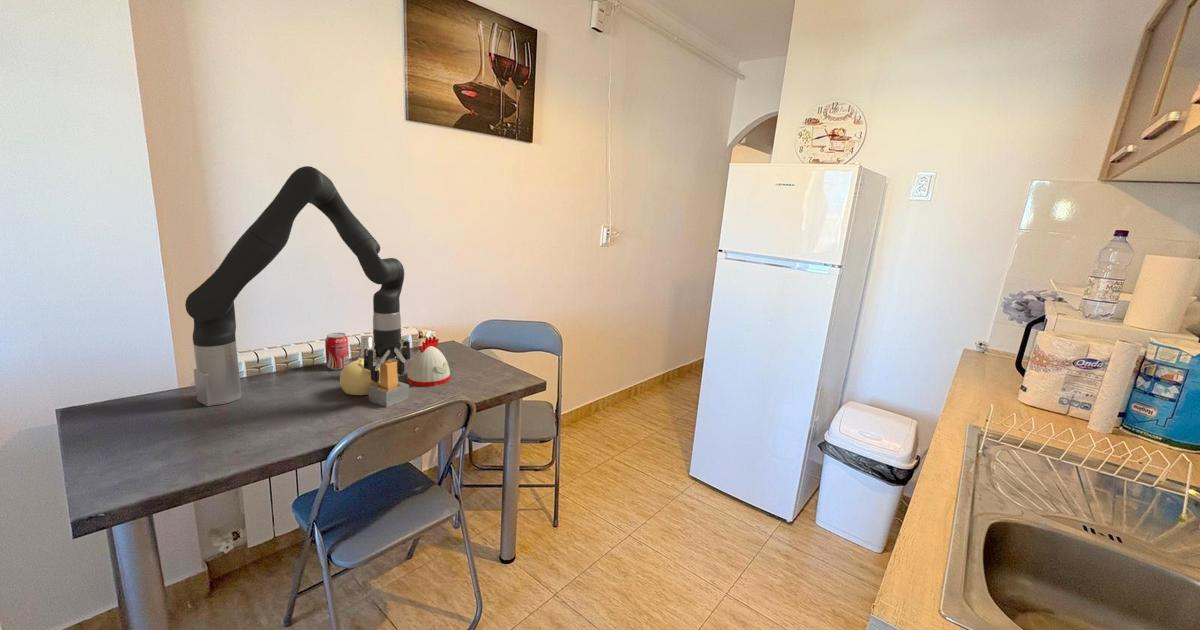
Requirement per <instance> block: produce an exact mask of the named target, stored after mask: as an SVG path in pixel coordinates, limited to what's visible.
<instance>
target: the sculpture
mask: <svg viewBox="0 0 1200 630" xmlns="http://www.w3.org/2000/svg"><path fill="white" fill-rule="evenodd" d="M376 364H377V363H376ZM378 370H379V382H373V381H372V380H371V370H368V369H365V368H364V359H361V358H359V357H358V358H357V360H354V361H351V362H349V364H347V365H346V366H345V367H344V368H343V369H341V371H340V376H339V384H340V387H341V390H342V391H343V392H344V393H345V394H347V395H350V396H367V395H368V396H369V386H371V385H374V384H377V383H380V367H379V369H378Z"/></svg>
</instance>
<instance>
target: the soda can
mask: <svg viewBox="0 0 1200 630" xmlns="http://www.w3.org/2000/svg"><path fill="white" fill-rule="evenodd" d="M324 343H325V345H324V346H325V348H324V350H325V351H324V352H325V361H326V367H327V368H328V369H330V370H334V371H336V370H337V371H340V370H343V368H344V367H345V366H346V365H347V364H349V363H350V355H349V354H350V351H349V349H350V348H349V339H348V337H347V336H346V333H344V332H331V333H327V334H326V338H325V340H324Z"/></svg>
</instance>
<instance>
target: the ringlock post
mask: <svg viewBox="0 0 1200 630" xmlns="http://www.w3.org/2000/svg"><path fill="white" fill-rule="evenodd" d="M365 349H374V341H373V335H362V336H360V350H361V351H360V354H361V356H359V357H358V358H361V359H364V350H365ZM374 356H375V355H374ZM374 356H373V358H374Z"/></svg>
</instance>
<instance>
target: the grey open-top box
mask: <svg viewBox="0 0 1200 630" xmlns="http://www.w3.org/2000/svg"><path fill="white" fill-rule="evenodd" d="M397 384H398V387H395V388H392V389H389V390H386V389H383V388H380V383H377V384H374V385H371V386H369V394H368V401H370V402H373V403H375V404H377V405H380V406H383V407H386V408H388V407H390V406H394V405H395V404H399V403H401V402H403V401H406V400H409V399H410V384H408V383H404V382H401V381H399V380H398V381H397Z"/></svg>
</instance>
